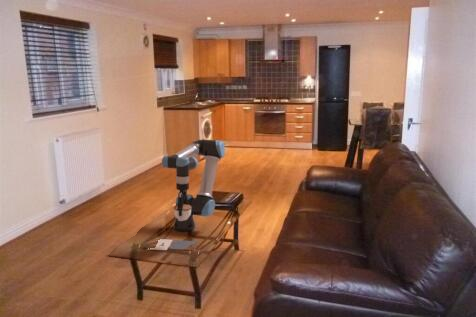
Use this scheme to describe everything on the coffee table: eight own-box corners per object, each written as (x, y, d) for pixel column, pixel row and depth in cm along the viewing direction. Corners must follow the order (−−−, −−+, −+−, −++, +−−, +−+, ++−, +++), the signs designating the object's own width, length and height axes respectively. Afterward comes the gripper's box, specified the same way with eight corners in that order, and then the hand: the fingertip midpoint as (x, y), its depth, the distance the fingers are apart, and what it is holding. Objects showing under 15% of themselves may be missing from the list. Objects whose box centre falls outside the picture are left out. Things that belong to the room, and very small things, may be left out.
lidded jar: (193, 220, 249) (193, 206, 248) (175, 222, 246) (175, 207, 244) (189, 215, 259) (189, 201, 257) (172, 217, 256) (172, 202, 254)
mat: (174, 240, 263) (174, 240, 263) (196, 241, 262) (196, 241, 262) (169, 249, 249) (169, 248, 249) (192, 250, 248) (192, 249, 248)
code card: (151, 239, 265) (151, 238, 265) (172, 239, 264) (172, 239, 264) (143, 249, 248) (143, 248, 248) (166, 250, 247) (166, 249, 247)
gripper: (180, 178, 260) (180, 211, 264) (171, 187, 237) (172, 223, 241) (192, 178, 260) (192, 212, 263) (184, 187, 237) (184, 224, 241)
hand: (182, 217), depth 252 cm, fingers closed on lidded jar, 11 cm apart
